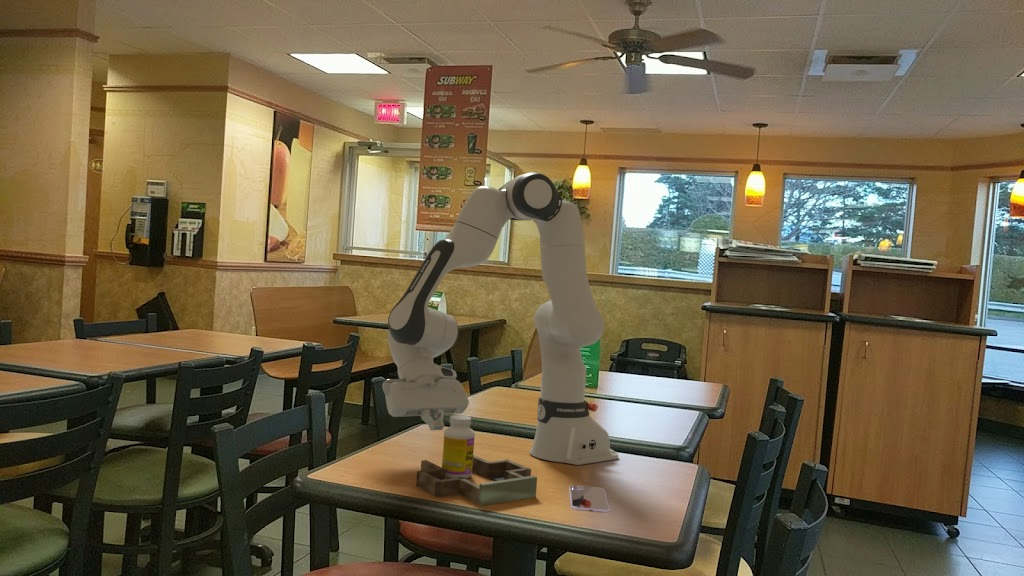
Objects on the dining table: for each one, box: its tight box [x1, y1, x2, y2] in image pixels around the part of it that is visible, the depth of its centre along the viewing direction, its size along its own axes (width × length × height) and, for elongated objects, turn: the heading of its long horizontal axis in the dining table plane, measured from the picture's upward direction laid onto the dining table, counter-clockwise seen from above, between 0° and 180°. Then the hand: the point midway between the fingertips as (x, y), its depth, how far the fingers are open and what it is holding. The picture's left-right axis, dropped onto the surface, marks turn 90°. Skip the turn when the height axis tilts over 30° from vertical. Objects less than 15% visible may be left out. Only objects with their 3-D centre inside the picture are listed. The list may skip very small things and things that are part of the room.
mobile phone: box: [568, 484, 611, 513], centre depth 147 cm, size 8×1×15 cm
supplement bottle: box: [441, 414, 476, 479], centre depth 157 cm, size 7×7×13 cm
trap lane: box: [415, 454, 538, 507], centre depth 151 cm, size 23×23×4 cm
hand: (437, 428), depth 163 cm, fingers closed
